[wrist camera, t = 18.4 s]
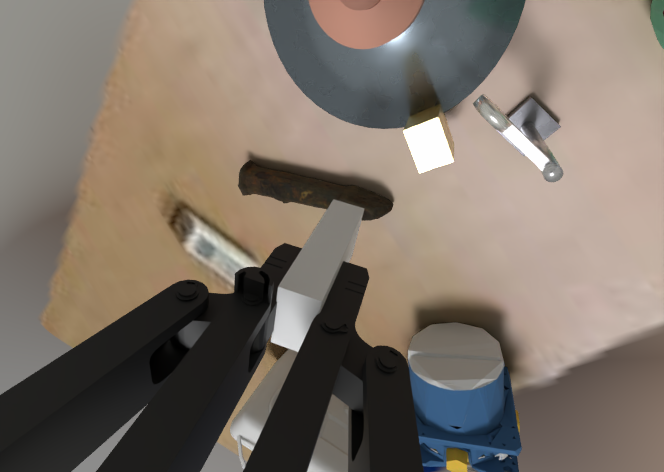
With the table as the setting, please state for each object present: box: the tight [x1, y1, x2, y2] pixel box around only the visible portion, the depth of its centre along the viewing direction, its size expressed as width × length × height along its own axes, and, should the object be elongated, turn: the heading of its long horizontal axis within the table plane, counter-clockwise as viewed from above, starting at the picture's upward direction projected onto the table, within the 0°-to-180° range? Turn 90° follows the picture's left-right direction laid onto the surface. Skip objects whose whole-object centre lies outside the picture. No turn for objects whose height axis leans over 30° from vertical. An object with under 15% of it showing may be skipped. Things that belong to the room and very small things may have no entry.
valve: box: [408, 322, 522, 472], centre depth 49 cm, size 13×15×15 cm
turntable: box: [264, 0, 525, 173], centre depth 30 cm, size 24×22×7 cm
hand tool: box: [238, 160, 393, 220], centre depth 46 cm, size 19×4×5 cm, turn 82°
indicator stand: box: [473, 94, 563, 182], centre depth 31 cm, size 10×4×14 cm, turn 52°
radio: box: [230, 349, 349, 472], centre depth 56 cm, size 22×8×25 cm, turn 57°
